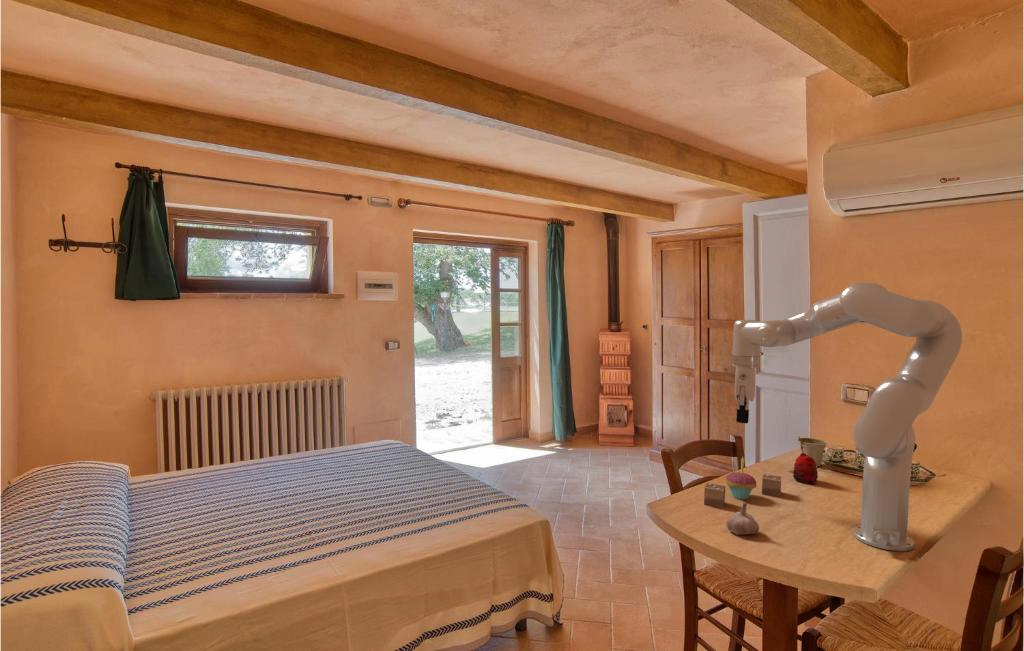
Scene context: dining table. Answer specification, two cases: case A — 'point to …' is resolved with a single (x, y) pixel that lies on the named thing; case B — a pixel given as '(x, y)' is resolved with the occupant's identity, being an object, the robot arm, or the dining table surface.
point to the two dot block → (771, 485)
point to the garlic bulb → (742, 523)
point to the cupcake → (740, 483)
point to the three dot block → (714, 495)
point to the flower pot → (813, 448)
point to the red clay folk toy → (805, 468)
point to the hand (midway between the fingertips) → (742, 422)
